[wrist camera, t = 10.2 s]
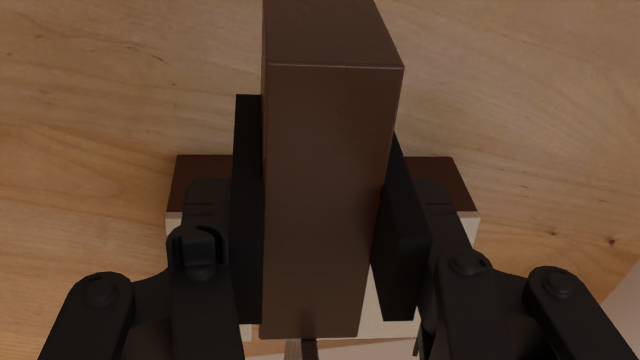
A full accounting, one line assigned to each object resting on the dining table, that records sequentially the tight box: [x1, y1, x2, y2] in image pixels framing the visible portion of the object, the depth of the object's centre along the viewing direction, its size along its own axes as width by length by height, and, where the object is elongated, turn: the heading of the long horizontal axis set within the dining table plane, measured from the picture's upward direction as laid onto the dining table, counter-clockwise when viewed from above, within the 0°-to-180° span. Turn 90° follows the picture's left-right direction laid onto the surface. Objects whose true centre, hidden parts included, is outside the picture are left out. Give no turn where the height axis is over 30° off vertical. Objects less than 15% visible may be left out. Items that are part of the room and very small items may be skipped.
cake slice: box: [165, 155, 252, 342], centre depth 36 cm, size 10×4×6 cm, turn 176°
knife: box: [259, 0, 405, 360], centre depth 21 cm, size 23×3×6 cm, turn 176°
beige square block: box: [284, 157, 481, 341], centre depth 37 cm, size 10×10×6 cm
